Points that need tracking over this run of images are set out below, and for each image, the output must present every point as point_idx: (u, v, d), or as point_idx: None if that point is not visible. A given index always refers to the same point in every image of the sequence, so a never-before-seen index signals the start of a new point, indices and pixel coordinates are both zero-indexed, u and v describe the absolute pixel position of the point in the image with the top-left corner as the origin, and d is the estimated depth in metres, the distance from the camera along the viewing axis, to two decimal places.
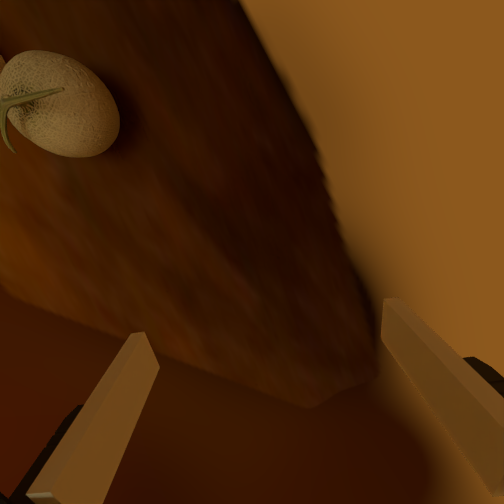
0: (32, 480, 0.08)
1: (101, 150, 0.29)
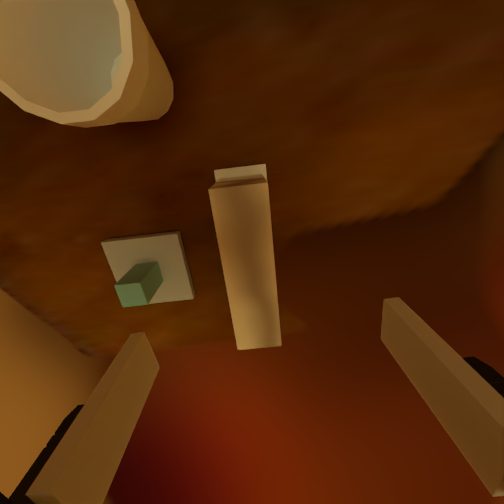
0: (32, 480, 0.08)
1: None
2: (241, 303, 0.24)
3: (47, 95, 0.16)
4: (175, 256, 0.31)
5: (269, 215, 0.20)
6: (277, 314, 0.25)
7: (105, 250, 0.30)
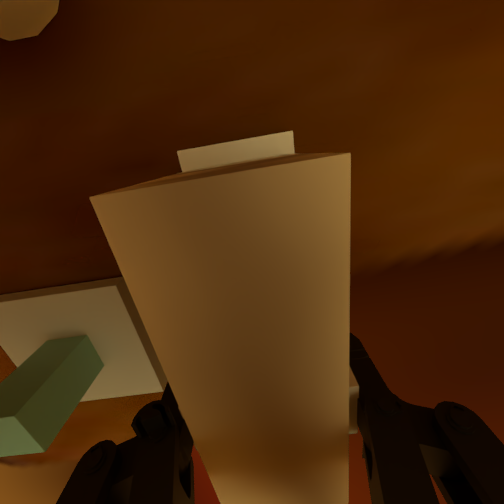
0: (169, 404, 0.09)
1: None
2: (251, 496, 0.09)
3: None
4: (119, 325, 0.16)
5: (345, 285, 0.05)
6: None
7: None
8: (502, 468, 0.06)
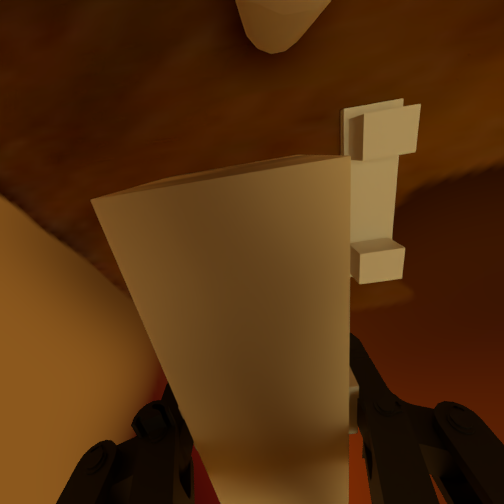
0: (169, 404, 0.09)
1: None
2: (252, 496, 0.09)
3: None
4: None
5: (345, 286, 0.05)
6: None
7: None
8: (502, 468, 0.06)
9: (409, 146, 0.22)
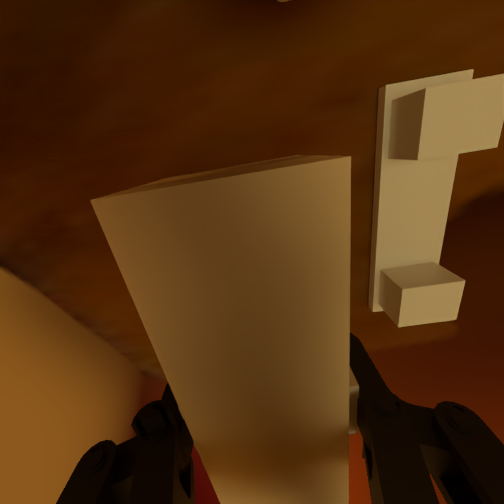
0: (169, 404, 0.09)
1: None
2: (252, 497, 0.09)
3: None
4: None
5: (345, 287, 0.05)
6: None
7: None
8: (502, 468, 0.06)
9: (489, 139, 0.15)
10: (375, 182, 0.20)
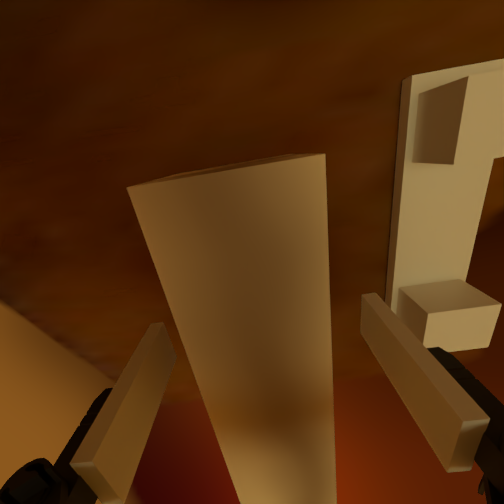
0: (71, 454, 0.08)
1: None
2: (251, 450, 0.10)
3: None
4: None
5: (325, 258, 0.07)
6: (332, 465, 0.11)
7: None
8: None
9: None
10: (395, 189, 0.17)
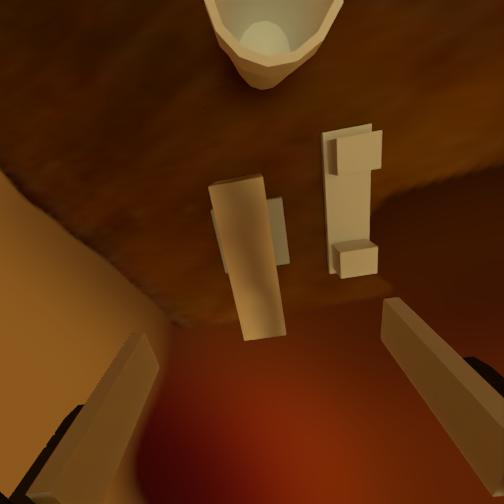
0: (33, 480, 0.08)
1: None
2: (245, 294, 0.25)
3: None
4: (277, 220, 0.33)
5: (266, 207, 0.22)
6: (280, 303, 0.26)
7: (213, 217, 0.33)
8: None
9: (375, 163, 0.27)
10: (323, 187, 0.32)
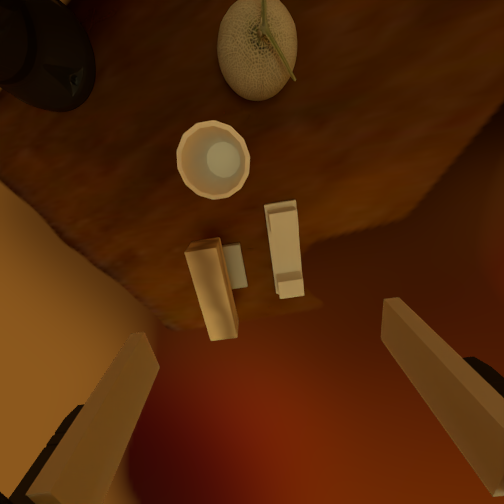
0: (32, 480, 0.08)
1: None
2: (209, 312, 0.40)
3: (199, 183, 0.33)
4: (237, 258, 0.48)
5: (219, 264, 0.37)
6: (231, 318, 0.41)
7: None
8: None
9: (295, 229, 0.42)
10: (268, 237, 0.47)
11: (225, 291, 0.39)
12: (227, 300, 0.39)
